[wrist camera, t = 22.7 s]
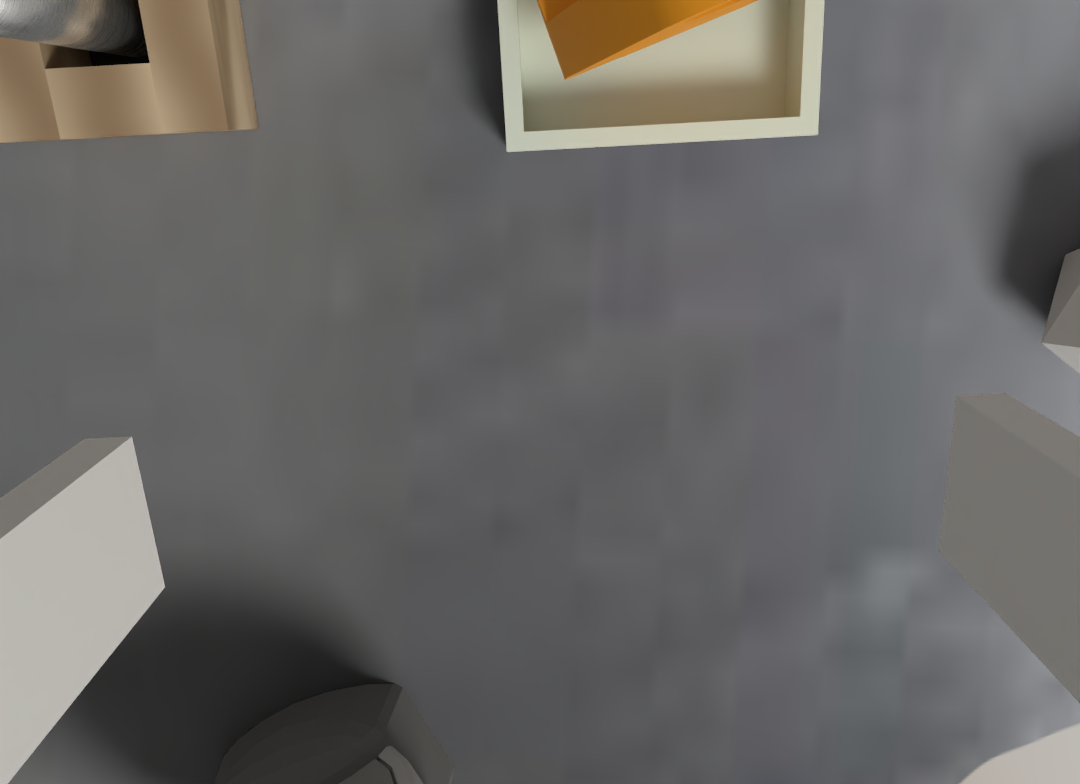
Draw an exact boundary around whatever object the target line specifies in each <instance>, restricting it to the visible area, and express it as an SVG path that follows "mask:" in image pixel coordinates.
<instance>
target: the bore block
mask: <svg viewBox="0 0 1080 784" xmlns="http://www.w3.org/2000/svg"><path fill="white" fill-rule="evenodd" d="M138 3H139V8H140V13H141V19H142V24H143V29H144V35H145V40H146V46H147V51H148V56H149V62H150V63H140V64H123V65H105V66H92V62H91V58H90V53H89V50H83V49H76V48H70V47H63V46H57V45H50V44H43V43H37V42H30V41H24V40H17V39H11V38H4V37H0V143H7V142H29V141H51V140H69V139H87V138H105V137H123V136H141V135H159V134H177V133H195V132H213V131H231V130H249V129H259V128H258V121H257V115H256V108H255V101H254V95H253V88H252V82H251V75H250V68H249V62H248V55H247V49H246V42H245V35H244V29H243V22H242V15H241V9H240V2H239V0H138Z"/></svg>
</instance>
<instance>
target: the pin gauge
mask: <svg viewBox="0 0 1080 784" xmlns="http://www.w3.org/2000/svg"><path fill="white" fill-rule="evenodd" d="M0 37H4V38H11V39H17V40H24V41H30V42H37V43H43V44H50V45H57V46H63V47H70V48H76V49H83V50H89V51H96V52H103V53H109V54H116V55H122V56H129V57H143V56H146V55H148V51H147V46H146V40H145V35H144V29H143V24H142V19H141V13H140V8H139V3H138V0H0Z"/></svg>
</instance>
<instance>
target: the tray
mask: <svg viewBox="0 0 1080 784" xmlns="http://www.w3.org/2000/svg"><path fill="white" fill-rule="evenodd" d="M497 3H498V19H499V35H500V51H501V67H502V83H503V99H504V115H505V130H506V146H507V152H516V151H534V150H552V149H570V148H588V147H607V146H625V145H643V144H661V143H679V142H698V141H716V140H734V139H752V138H771V137H789V136H807V135H818V121H819V101H820V80H821V60H822V40H823V20H824V0H758V1H755V2H753V3H751V4H749V5H747V6H745V7H742V8H740V9H737V10H735V11H733V12H730V13H728V14H725V15H723V16H720V17H718V18H716V19H713V20H711V21H708V22H706V23H704V24H701V25H699V26H696V27H694V28H691V29H689V30H687V31H684V32H682V33H679V34H677V35H675V36H672V37H670V38H667V39H665V40H663V41H660V42H658V43H655V44H653V45H650V46H648V47H646V48H643V49H641V50H638V51H636V52H634V53H631V54H629V55H626V56H624V57H622V58H621V57H620V58H618V59H615V60H613V61H610V62H608V63H606V64H603V65H601V66H598V67H596V68H593V69H591V70H589V71H586V72H584V73H581V74H579V75H577V76H574V77H572V78H569V79H567V80H565V79H564V76H563V73H562V70H561V68H560V65H559V62H558V59H557V56H556V54H555V51H554V48H553V45H552V42H551V40H550V37H549V34H548V31H547V28H546V26H545V23H544V20H543V17H542V14H541V12H540V9H539V6H538V3H537V0H497Z"/></svg>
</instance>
